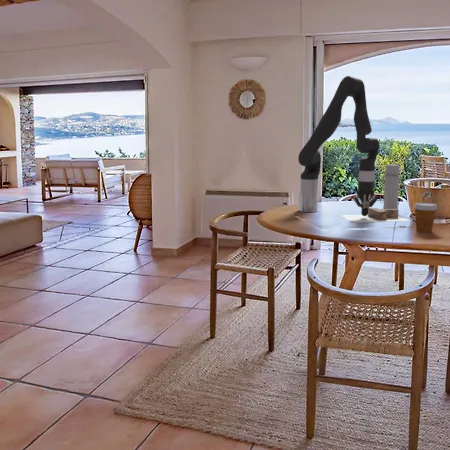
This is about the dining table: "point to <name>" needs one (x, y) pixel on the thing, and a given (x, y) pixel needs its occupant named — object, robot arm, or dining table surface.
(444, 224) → the dining table surface
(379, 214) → the tee block
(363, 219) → the board
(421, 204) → the disposable coffee cup
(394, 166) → the water bottle
